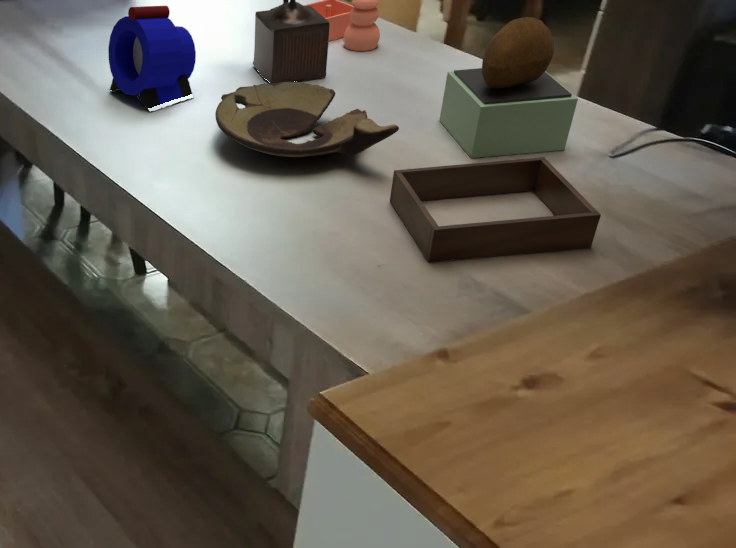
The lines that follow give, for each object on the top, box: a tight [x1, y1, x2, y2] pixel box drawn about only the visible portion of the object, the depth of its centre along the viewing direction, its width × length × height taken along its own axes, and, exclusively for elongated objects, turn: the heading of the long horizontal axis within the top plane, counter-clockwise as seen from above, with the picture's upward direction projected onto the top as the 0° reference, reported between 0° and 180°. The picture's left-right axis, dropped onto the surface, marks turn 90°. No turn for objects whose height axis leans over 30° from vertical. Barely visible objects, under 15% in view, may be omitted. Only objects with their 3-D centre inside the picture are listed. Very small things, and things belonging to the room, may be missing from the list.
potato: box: [481, 16, 555, 89], centre depth 133 cm, size 8×12×9 cm
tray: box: [389, 156, 602, 263], centre depth 120 cm, size 17×21×4 cm
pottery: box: [302, 0, 381, 52], centre depth 173 cm, size 18×10×10 cm, turn 30°
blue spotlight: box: [107, 5, 197, 109], centre depth 155 cm, size 12×12×15 cm
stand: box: [438, 67, 579, 159], centre depth 138 cm, size 14×14×8 cm
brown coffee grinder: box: [252, 0, 330, 83], centre depth 159 cm, size 16×11×18 cm
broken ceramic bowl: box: [214, 81, 400, 158], centre depth 138 cm, size 22×30×8 cm
